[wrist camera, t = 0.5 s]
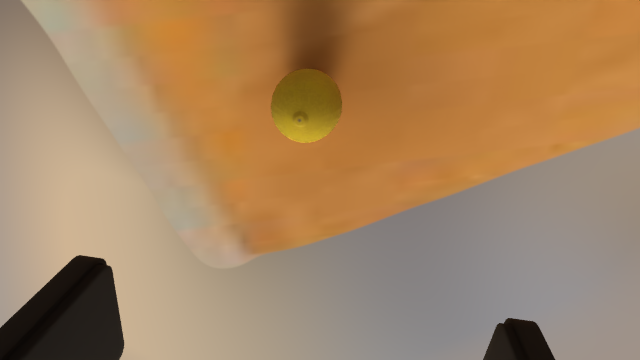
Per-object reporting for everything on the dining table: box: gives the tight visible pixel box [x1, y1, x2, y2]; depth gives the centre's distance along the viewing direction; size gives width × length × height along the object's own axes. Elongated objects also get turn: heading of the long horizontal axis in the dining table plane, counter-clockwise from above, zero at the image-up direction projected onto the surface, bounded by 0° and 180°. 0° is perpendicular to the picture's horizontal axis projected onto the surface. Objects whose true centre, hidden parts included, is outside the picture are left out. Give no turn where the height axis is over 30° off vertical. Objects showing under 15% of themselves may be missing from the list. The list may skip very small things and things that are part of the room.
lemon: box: [271, 68, 342, 143], centre depth 32 cm, size 6×6×8 cm
